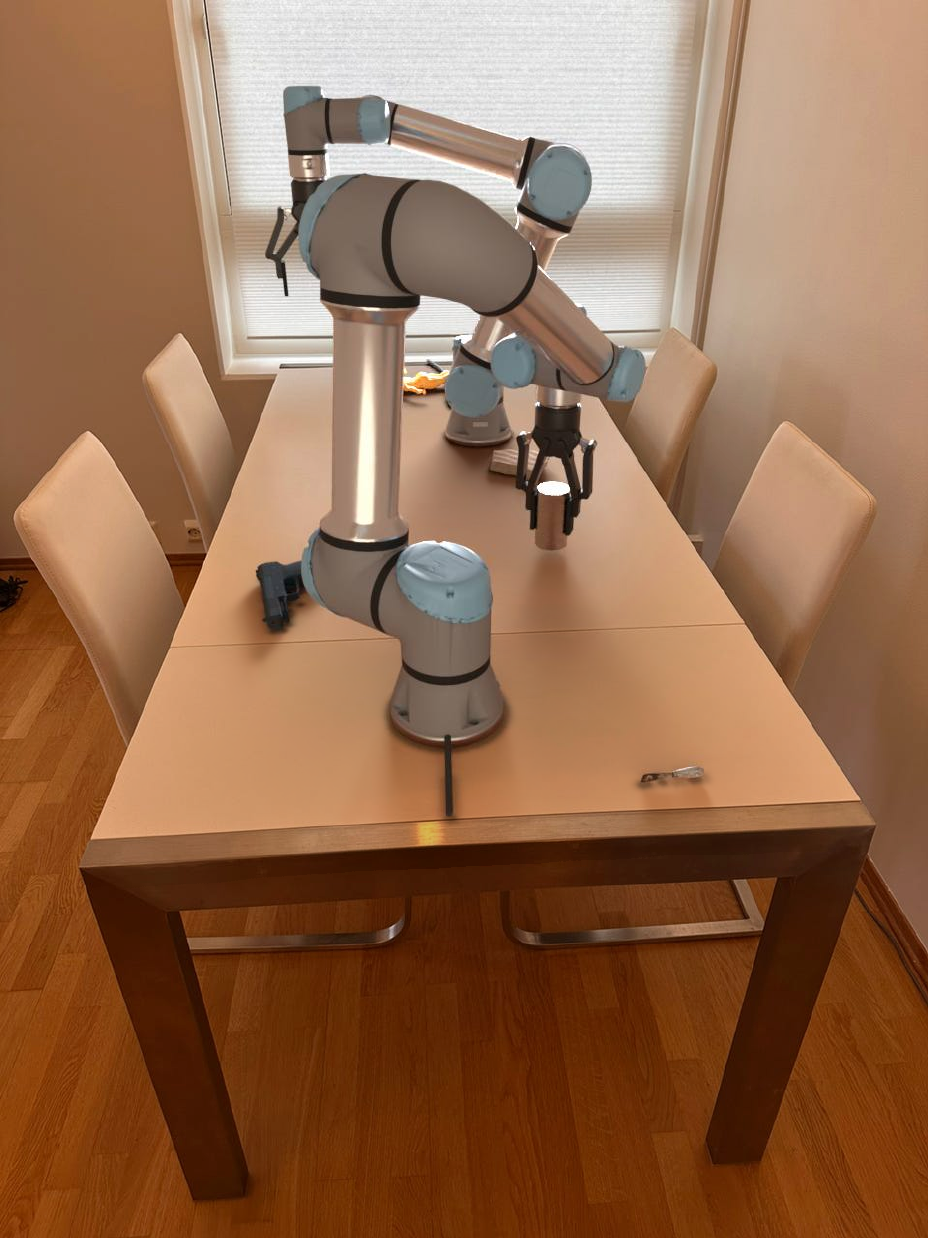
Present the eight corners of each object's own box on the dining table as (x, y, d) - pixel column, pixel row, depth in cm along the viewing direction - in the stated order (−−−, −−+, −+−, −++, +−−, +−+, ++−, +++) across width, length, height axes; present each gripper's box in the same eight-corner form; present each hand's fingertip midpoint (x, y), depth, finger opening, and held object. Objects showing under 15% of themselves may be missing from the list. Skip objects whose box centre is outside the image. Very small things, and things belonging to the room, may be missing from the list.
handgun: (340, 621, 141) (263, 633, 138) (325, 568, 155) (255, 578, 152) (339, 604, 139) (261, 615, 136) (323, 552, 153) (252, 561, 151)
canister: (545, 533, 163) (547, 479, 158) (572, 541, 161) (576, 486, 155) (528, 545, 159) (530, 490, 154) (556, 553, 157) (560, 497, 151)
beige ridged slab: (554, 462, 195) (554, 451, 194) (536, 482, 186) (537, 471, 185) (499, 454, 200) (499, 444, 198) (479, 474, 190) (479, 463, 189)
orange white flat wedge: (371, 392, 238) (370, 377, 236) (413, 371, 252) (412, 357, 250) (432, 405, 230) (432, 390, 227) (472, 383, 244) (472, 369, 241)
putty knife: (703, 777, 109) (705, 767, 109) (642, 788, 108) (644, 777, 107) (700, 772, 110) (702, 762, 109) (639, 782, 109) (640, 771, 108)
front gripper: (619, 401, 146) (608, 528, 159) (511, 389, 152) (508, 513, 164) (609, 415, 140) (598, 547, 153) (496, 402, 146) (494, 530, 158)
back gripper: (244, 182, 167) (258, 300, 178) (376, 178, 171) (382, 294, 182) (244, 178, 173) (257, 292, 184) (372, 174, 177) (378, 286, 189)
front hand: (551, 529), depth 158 cm, fingers closed on canister, 6 cm apart
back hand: (320, 293), depth 183 cm, fingers open, 13 cm apart
